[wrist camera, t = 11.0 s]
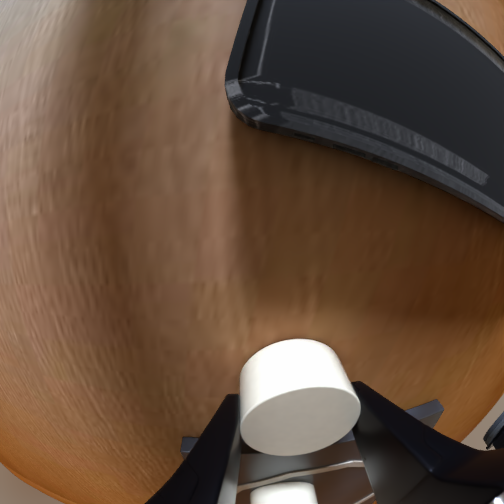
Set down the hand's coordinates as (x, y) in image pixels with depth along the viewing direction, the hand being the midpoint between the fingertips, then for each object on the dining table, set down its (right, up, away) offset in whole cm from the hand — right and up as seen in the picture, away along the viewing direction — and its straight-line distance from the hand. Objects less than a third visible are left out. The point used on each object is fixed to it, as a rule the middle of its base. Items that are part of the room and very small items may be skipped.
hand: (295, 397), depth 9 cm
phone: (+6, +11, -2) cm, 13 cm away
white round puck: (0, -10, +3) cm, 10 cm away
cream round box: (0, 0, +1) cm, 1 cm away
